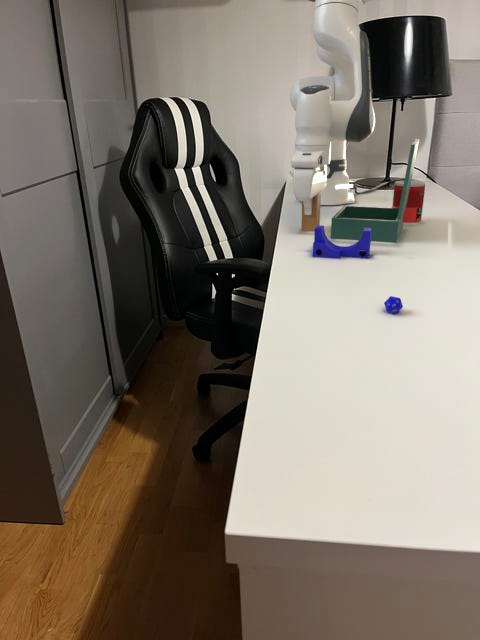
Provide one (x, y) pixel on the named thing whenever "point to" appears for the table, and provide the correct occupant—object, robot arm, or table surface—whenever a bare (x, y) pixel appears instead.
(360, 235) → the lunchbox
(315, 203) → the carton
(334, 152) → the robot arm
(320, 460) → the table surface
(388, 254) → the table surface
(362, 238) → the blue curved bracket
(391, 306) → the die
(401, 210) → the lid
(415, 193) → the canned food
